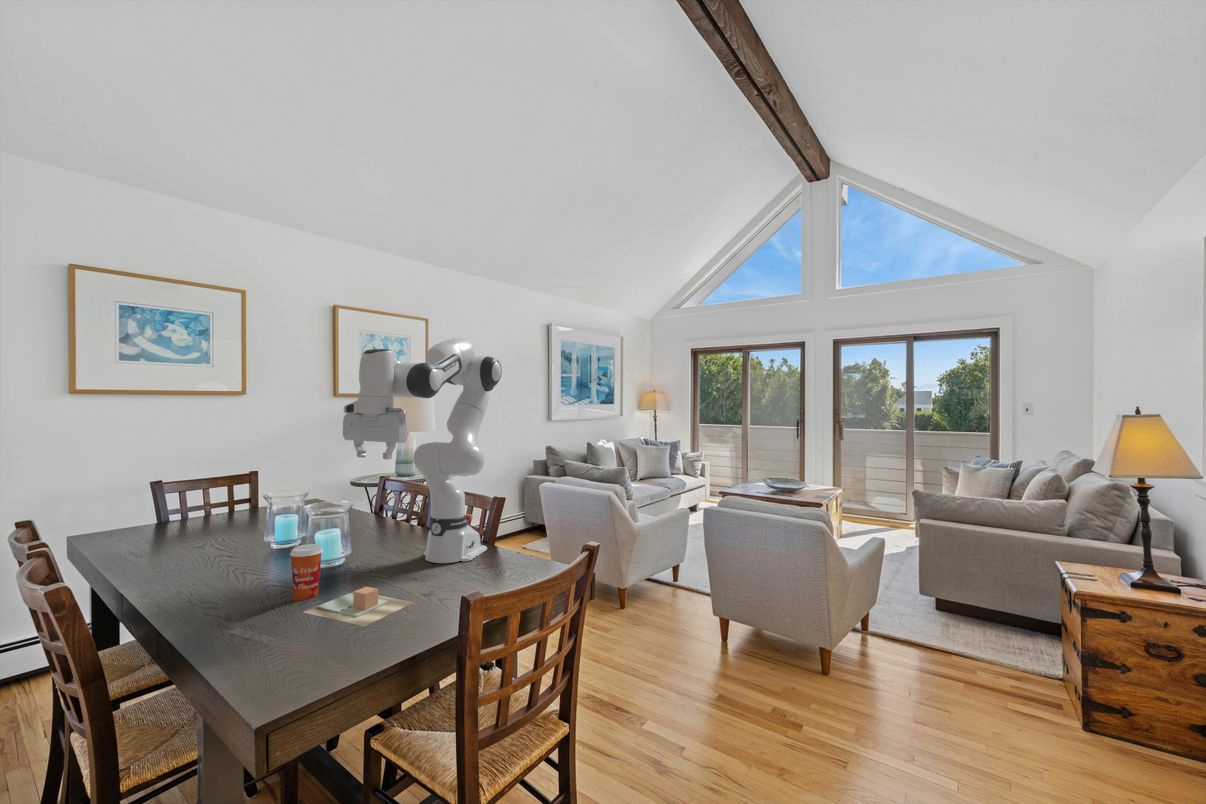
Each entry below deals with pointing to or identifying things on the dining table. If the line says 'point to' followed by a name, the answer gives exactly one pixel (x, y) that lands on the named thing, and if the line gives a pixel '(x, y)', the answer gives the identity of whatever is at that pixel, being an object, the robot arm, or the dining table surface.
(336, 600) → the board
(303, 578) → the paper cup
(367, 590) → the stub
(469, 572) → the dining table surface
